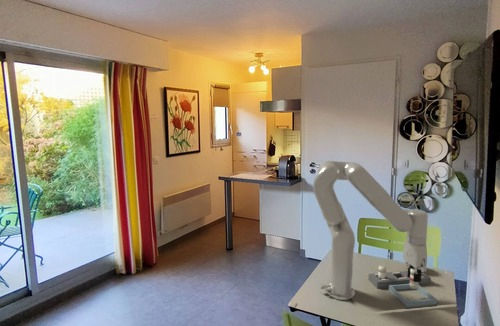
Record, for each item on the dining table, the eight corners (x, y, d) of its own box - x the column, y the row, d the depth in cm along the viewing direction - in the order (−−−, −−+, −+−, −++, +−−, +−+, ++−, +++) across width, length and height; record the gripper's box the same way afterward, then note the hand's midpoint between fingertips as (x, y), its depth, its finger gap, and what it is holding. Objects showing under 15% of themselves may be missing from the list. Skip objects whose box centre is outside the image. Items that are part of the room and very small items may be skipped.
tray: (407, 308, 134) (407, 302, 133) (388, 291, 147) (388, 285, 146) (436, 306, 135) (437, 299, 135) (415, 289, 149) (416, 283, 148)
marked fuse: (412, 289, 138) (413, 271, 137) (407, 285, 142) (408, 268, 141) (419, 288, 139) (420, 271, 138) (414, 284, 142) (415, 267, 141)
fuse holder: (377, 290, 148) (377, 281, 147) (368, 281, 156) (368, 273, 155) (430, 285, 152) (430, 277, 151) (419, 277, 160) (419, 269, 159)
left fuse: (380, 285, 150) (381, 269, 149) (376, 281, 154) (377, 265, 153) (386, 284, 151) (387, 268, 150) (382, 281, 154) (383, 265, 153)
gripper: (396, 232, 145) (394, 271, 147) (421, 247, 129) (418, 290, 131) (412, 231, 146) (409, 270, 148) (438, 245, 130) (435, 288, 132)
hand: (414, 279), depth 140 cm, fingers closed on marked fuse, 3 cm apart
